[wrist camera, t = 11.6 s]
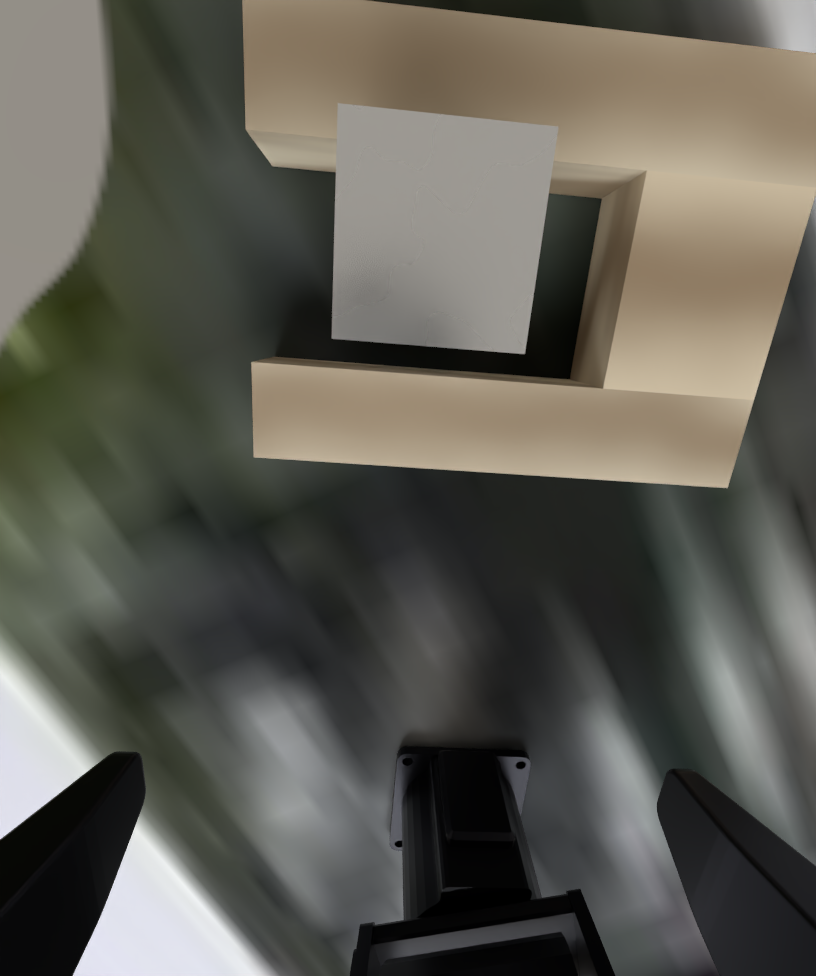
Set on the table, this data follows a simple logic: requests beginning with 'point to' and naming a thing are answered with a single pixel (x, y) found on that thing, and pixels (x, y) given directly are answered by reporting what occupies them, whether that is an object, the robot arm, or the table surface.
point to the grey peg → (438, 227)
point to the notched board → (617, 246)
